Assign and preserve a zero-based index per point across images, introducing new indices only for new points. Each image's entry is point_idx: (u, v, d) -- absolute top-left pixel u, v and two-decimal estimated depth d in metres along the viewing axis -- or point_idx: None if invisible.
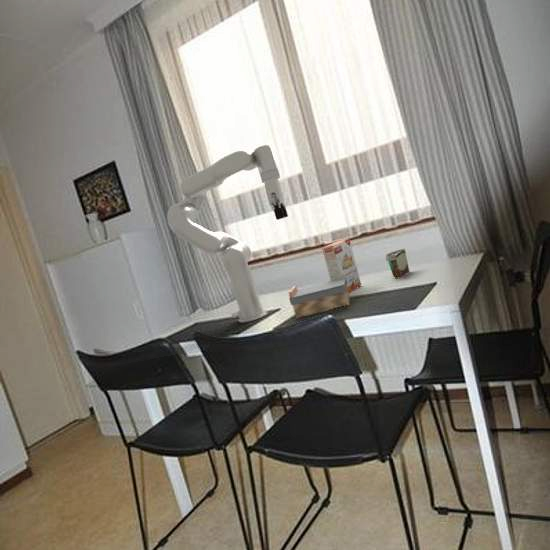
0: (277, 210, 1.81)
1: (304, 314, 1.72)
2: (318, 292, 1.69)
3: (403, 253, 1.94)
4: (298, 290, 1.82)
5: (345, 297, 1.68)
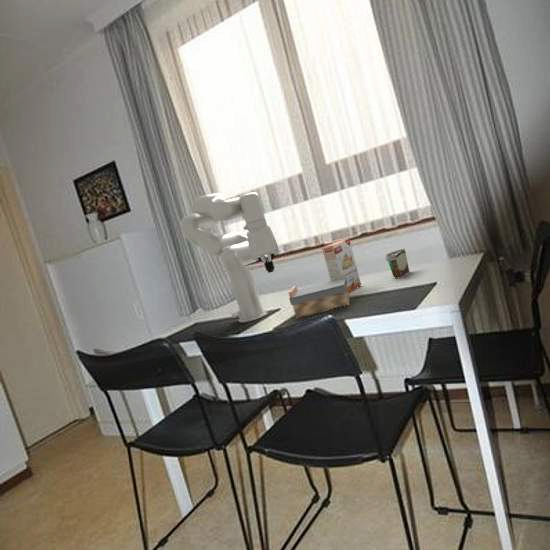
0: (272, 262, 1.77)
1: (304, 314, 1.72)
2: (318, 292, 1.69)
3: (403, 253, 1.94)
4: (298, 290, 1.82)
5: (345, 297, 1.68)
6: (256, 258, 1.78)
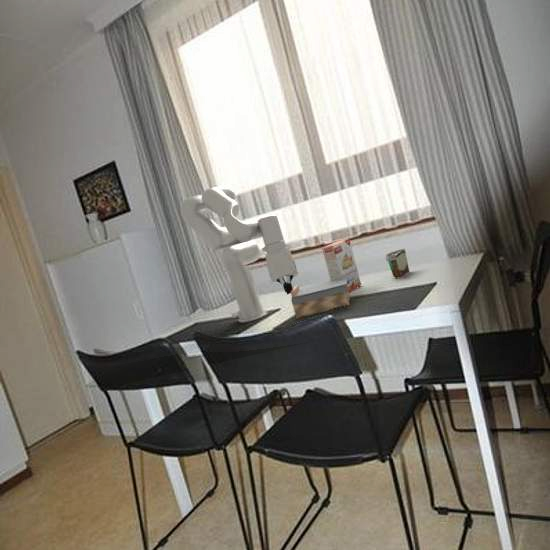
0: (290, 283, 1.77)
1: (304, 314, 1.72)
2: (320, 291, 1.68)
3: (403, 253, 1.94)
4: (300, 289, 1.82)
5: (345, 297, 1.68)
6: (275, 280, 1.78)
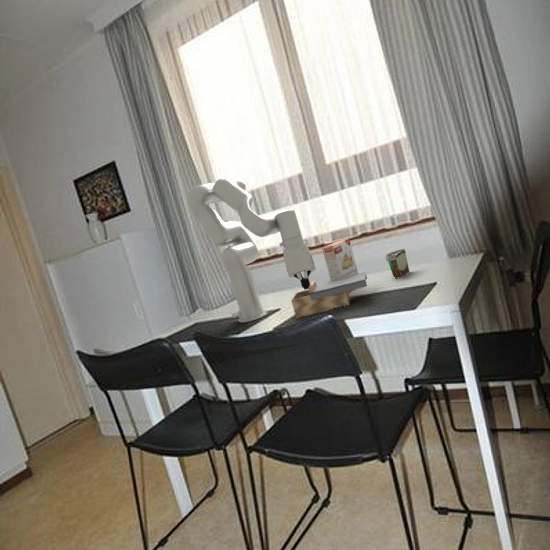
0: (308, 279, 1.76)
1: (304, 314, 1.72)
2: (339, 287, 1.67)
3: (403, 253, 1.94)
4: (317, 285, 1.81)
5: (345, 297, 1.68)
6: (292, 275, 1.76)
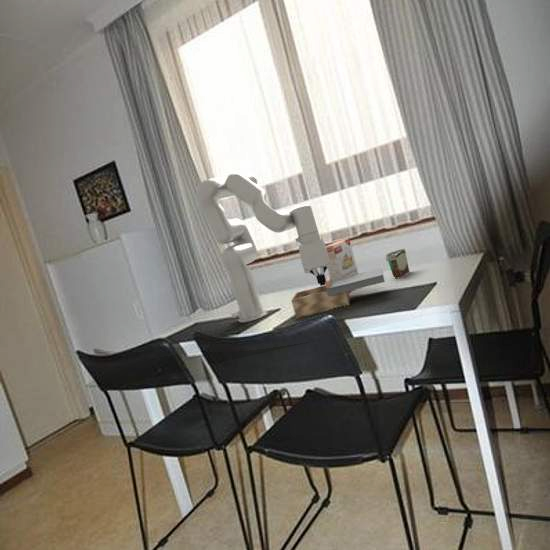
0: (324, 275, 1.74)
1: (304, 314, 1.72)
2: (356, 282, 1.65)
3: (403, 253, 1.94)
4: (333, 281, 1.79)
5: (345, 297, 1.68)
6: (308, 271, 1.75)
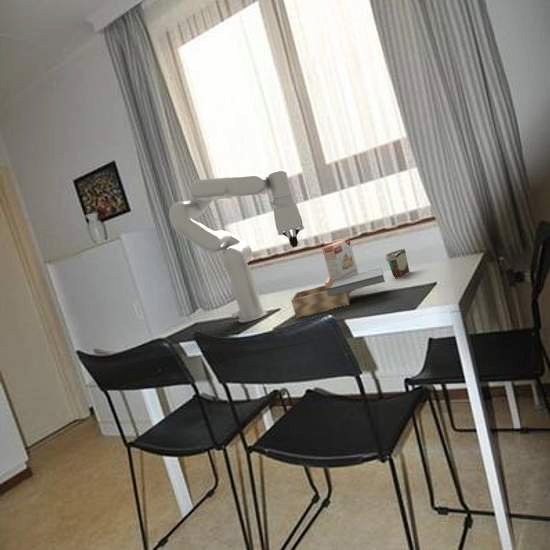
0: (296, 237, 1.85)
1: (304, 314, 1.72)
2: (356, 282, 1.65)
3: (403, 253, 1.94)
4: (333, 281, 1.79)
5: (345, 297, 1.68)
6: (281, 233, 1.86)
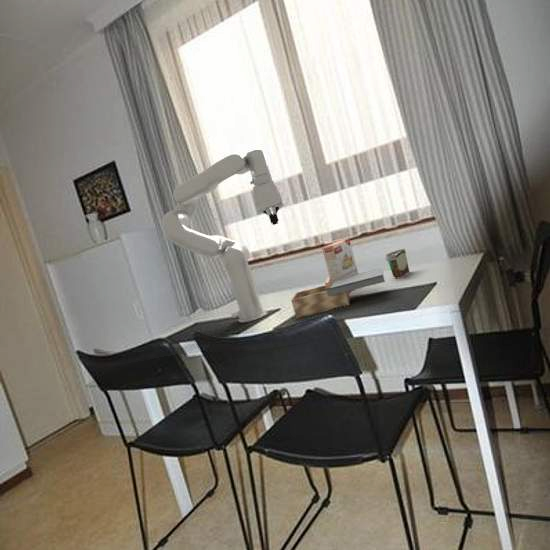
0: (276, 215, 1.89)
1: (304, 314, 1.72)
2: (356, 282, 1.65)
3: (403, 253, 1.94)
4: (333, 281, 1.79)
5: (345, 297, 1.68)
6: (261, 211, 1.89)
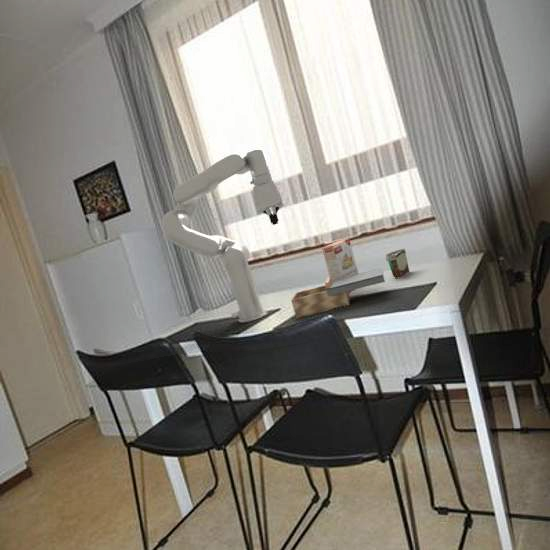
0: (276, 215, 1.89)
1: (304, 314, 1.72)
2: (356, 282, 1.65)
3: (403, 253, 1.94)
4: (333, 281, 1.79)
5: (345, 297, 1.68)
6: (261, 211, 1.89)
